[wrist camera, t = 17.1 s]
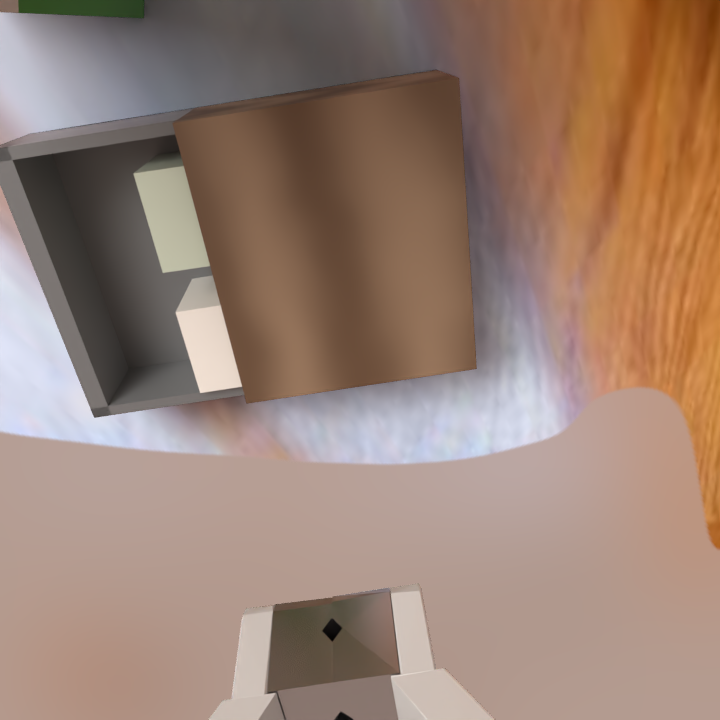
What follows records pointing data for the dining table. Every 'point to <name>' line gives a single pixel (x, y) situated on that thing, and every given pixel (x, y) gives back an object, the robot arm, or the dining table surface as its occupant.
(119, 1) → the hardback book
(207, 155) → the brown box sleeve
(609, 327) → the dining table surface
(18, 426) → the dining table surface
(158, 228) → the sage tile
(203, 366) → the white tile
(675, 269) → the dining table surface
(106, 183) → the tray
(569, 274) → the dining table surface
